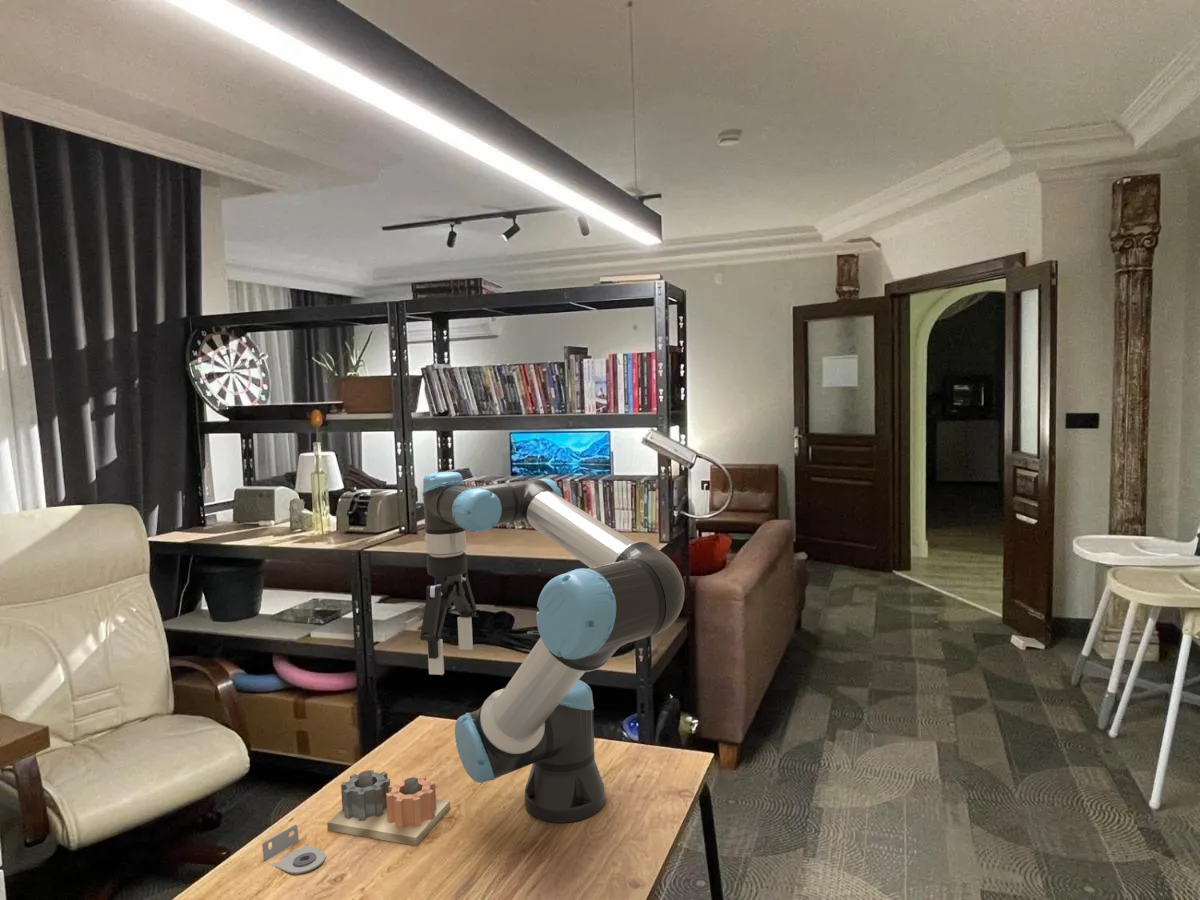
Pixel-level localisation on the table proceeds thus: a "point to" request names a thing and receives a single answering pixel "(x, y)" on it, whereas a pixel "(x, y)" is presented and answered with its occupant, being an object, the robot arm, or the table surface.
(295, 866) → the bracket
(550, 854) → the table surface
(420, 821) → the gear
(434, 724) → the table surface
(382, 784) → the gear board
